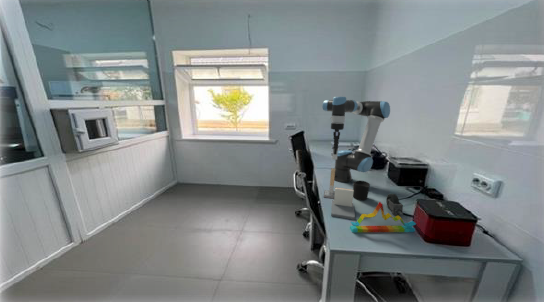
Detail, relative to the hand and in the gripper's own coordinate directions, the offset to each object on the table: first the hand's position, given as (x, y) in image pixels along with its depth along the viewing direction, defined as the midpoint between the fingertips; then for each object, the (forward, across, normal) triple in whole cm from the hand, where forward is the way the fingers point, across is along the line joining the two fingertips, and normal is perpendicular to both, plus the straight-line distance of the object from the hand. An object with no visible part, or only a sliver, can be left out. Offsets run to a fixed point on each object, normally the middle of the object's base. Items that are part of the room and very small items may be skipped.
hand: (334, 156), depth 132 cm
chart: (+27, +33, +24) cm, 49 cm away
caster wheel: (+27, +11, +34) cm, 45 cm away
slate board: (+26, +19, +6) cm, 33 cm away
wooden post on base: (+26, 0, 0) cm, 26 cm away
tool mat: (+26, 0, 0) cm, 27 cm away
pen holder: (+27, -2, +18) cm, 32 cm away
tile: (+25, +15, +6) cm, 30 cm away
